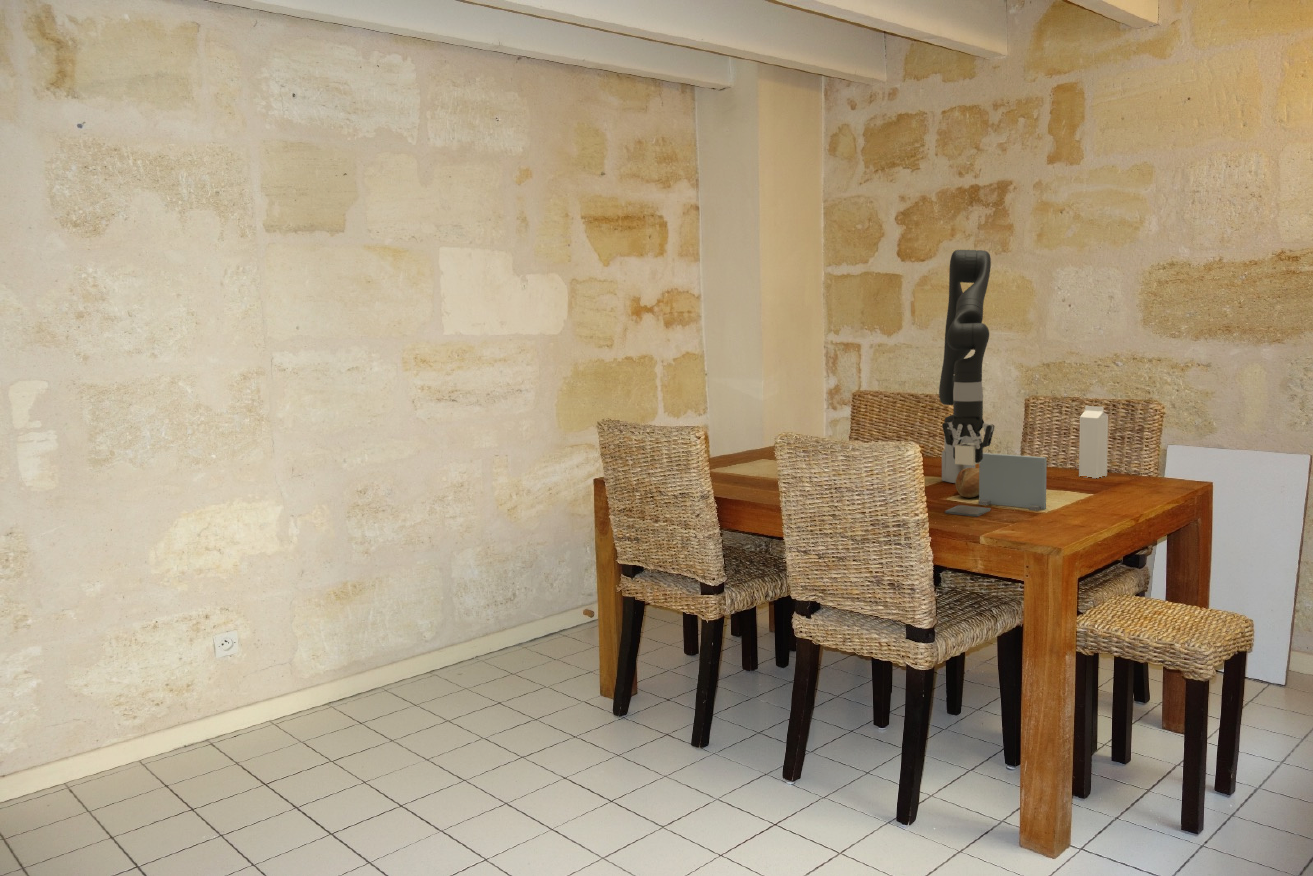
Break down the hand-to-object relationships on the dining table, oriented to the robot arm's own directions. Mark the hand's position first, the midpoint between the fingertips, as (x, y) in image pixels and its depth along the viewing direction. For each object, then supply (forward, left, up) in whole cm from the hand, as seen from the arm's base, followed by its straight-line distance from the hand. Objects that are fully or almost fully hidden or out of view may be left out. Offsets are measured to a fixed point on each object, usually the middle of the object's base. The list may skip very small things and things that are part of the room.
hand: (968, 461), depth 266 cm
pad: (0, 0, -14) cm, 14 cm away
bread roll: (-8, +22, -14) cm, 27 cm away
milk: (+12, +66, -14) cm, 69 cm away
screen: (+7, +13, -14) cm, 20 cm away
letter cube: (0, 0, 0) cm, 0 cm away
